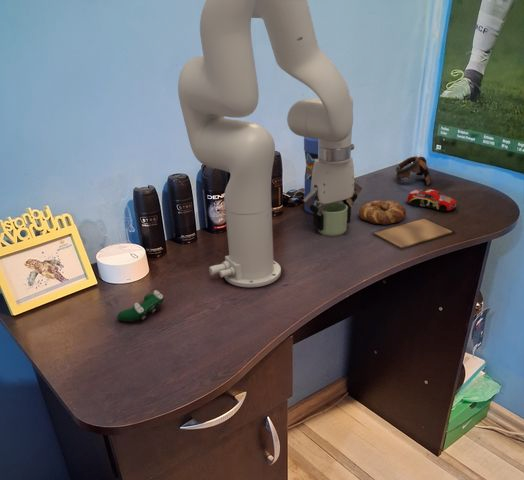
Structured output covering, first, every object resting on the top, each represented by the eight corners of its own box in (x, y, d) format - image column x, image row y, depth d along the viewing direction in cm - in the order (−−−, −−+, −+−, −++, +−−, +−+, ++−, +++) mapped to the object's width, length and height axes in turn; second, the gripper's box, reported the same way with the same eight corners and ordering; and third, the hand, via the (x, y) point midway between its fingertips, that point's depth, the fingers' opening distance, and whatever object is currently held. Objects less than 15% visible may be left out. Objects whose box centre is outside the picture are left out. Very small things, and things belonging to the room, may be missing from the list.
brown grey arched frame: (427, 190, 158) (416, 166, 154) (399, 199, 165) (387, 176, 161) (440, 168, 164) (429, 144, 160) (412, 177, 171) (401, 154, 167)
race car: (459, 208, 145) (461, 193, 143) (450, 214, 142) (452, 199, 139) (414, 198, 152) (415, 184, 150) (404, 203, 149) (406, 189, 146)
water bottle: (318, 199, 155) (320, 105, 140) (344, 206, 149) (349, 109, 135) (296, 209, 149) (296, 112, 135) (323, 217, 144) (325, 117, 129)
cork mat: (400, 248, 126) (401, 247, 126) (374, 234, 134) (374, 232, 133) (452, 232, 132) (452, 231, 132) (423, 219, 139) (423, 218, 139)
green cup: (328, 238, 133) (328, 215, 129) (311, 228, 138) (312, 205, 135) (352, 231, 136) (353, 208, 132) (335, 222, 141) (336, 199, 137)
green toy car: (126, 332, 106) (139, 319, 101) (114, 317, 105) (126, 303, 101) (158, 310, 112) (171, 297, 108) (146, 295, 112) (158, 282, 107)
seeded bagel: (357, 225, 138) (358, 211, 136) (358, 209, 147) (359, 196, 145) (406, 226, 136) (407, 212, 134) (404, 210, 145) (405, 197, 143)
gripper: (355, 142, 132) (351, 212, 142) (293, 155, 125) (294, 227, 136) (374, 149, 126) (369, 221, 137) (311, 163, 120) (311, 238, 130)
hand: (332, 224), depth 136 cm, fingers closed on green cup, 7 cm apart
